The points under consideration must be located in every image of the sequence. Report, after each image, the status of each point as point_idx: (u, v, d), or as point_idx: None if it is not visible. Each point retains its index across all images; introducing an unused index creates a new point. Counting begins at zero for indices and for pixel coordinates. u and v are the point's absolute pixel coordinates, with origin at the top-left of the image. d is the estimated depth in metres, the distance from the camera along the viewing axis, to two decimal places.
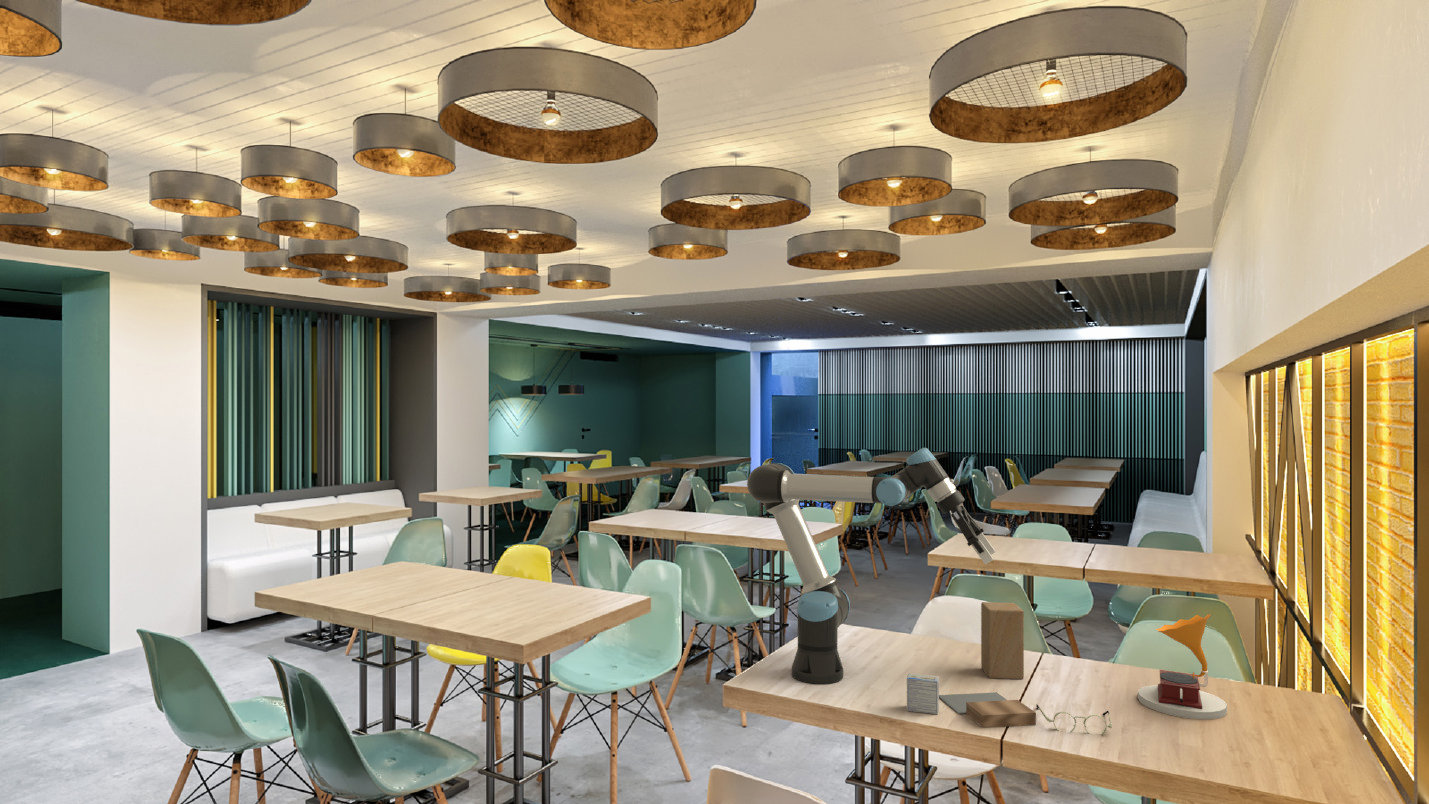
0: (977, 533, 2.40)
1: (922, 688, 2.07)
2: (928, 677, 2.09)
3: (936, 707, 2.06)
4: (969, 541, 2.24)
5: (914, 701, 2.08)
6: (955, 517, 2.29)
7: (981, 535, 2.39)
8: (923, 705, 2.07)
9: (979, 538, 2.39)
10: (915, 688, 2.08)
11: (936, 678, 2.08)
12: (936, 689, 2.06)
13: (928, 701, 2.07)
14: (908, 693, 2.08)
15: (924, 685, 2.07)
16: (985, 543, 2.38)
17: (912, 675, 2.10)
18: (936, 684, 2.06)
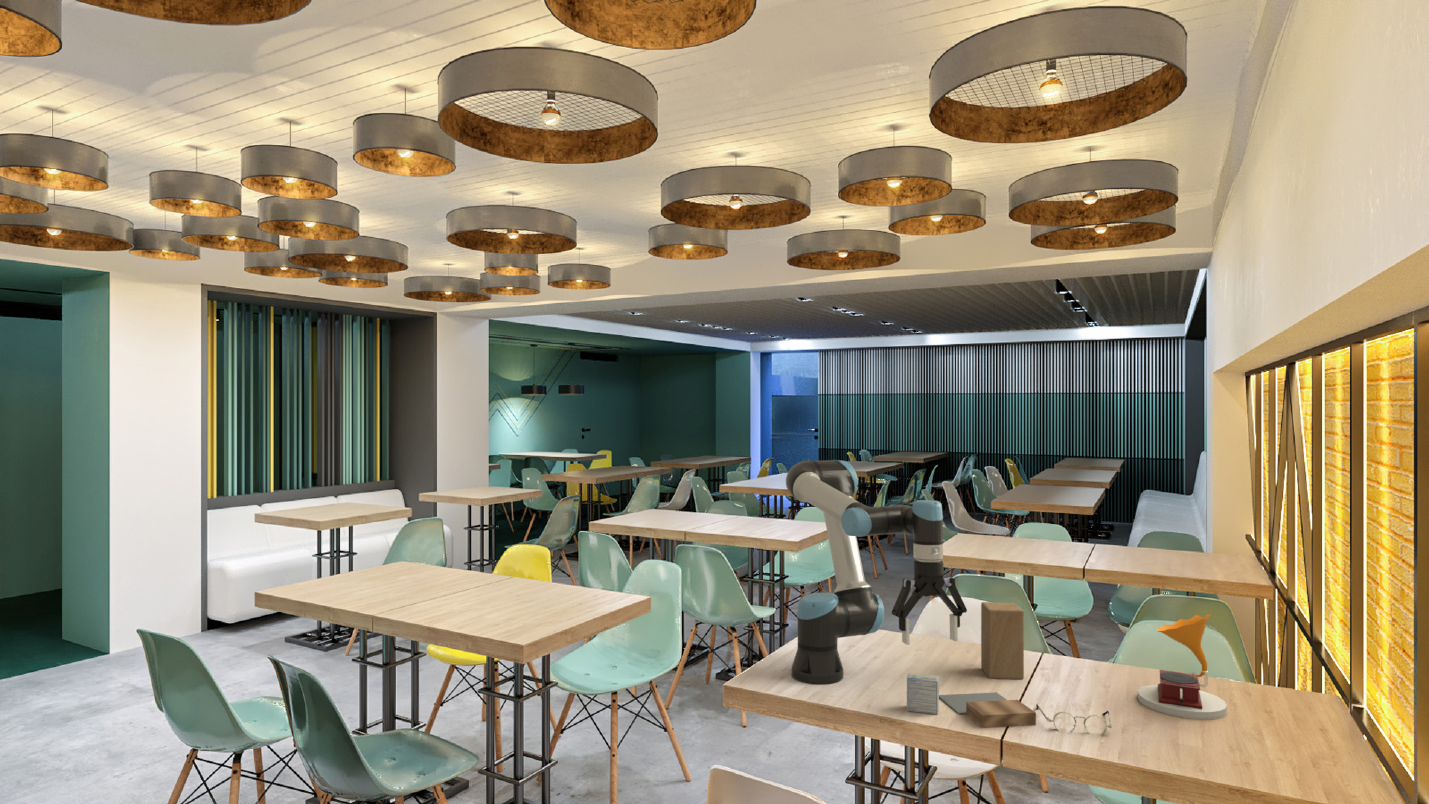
0: (954, 612, 2.12)
1: (922, 688, 2.07)
2: (928, 677, 2.09)
3: (936, 707, 2.06)
4: (892, 612, 2.09)
5: (914, 701, 2.08)
6: (903, 584, 2.10)
7: (953, 617, 2.11)
8: (923, 705, 2.07)
9: (951, 618, 2.12)
10: (915, 688, 2.08)
11: (936, 678, 2.08)
12: (936, 689, 2.06)
13: (928, 701, 2.07)
14: (908, 693, 2.08)
15: (924, 685, 2.07)
16: (952, 626, 2.11)
17: (912, 675, 2.10)
18: (936, 684, 2.06)
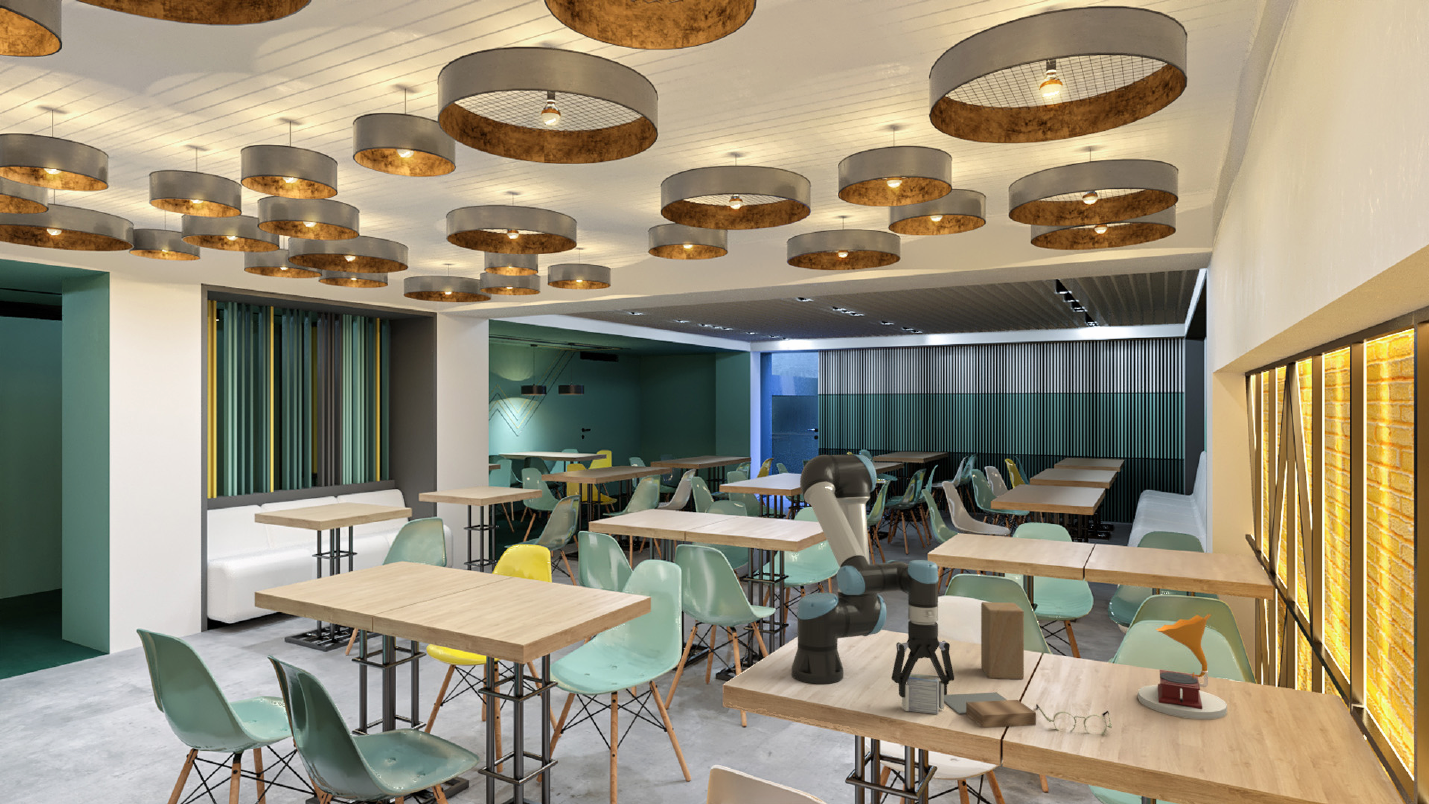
0: (941, 680, 2.10)
1: (922, 688, 2.07)
2: (928, 677, 2.09)
3: (936, 707, 2.06)
4: (892, 678, 2.09)
5: (914, 701, 2.08)
6: (897, 648, 2.09)
7: (940, 685, 2.09)
8: (923, 705, 2.07)
9: None
10: (915, 688, 2.08)
11: (936, 678, 2.08)
12: (936, 689, 2.06)
13: (928, 701, 2.07)
14: None
15: (924, 685, 2.07)
16: (939, 694, 2.09)
17: (912, 675, 2.10)
18: (936, 684, 2.06)
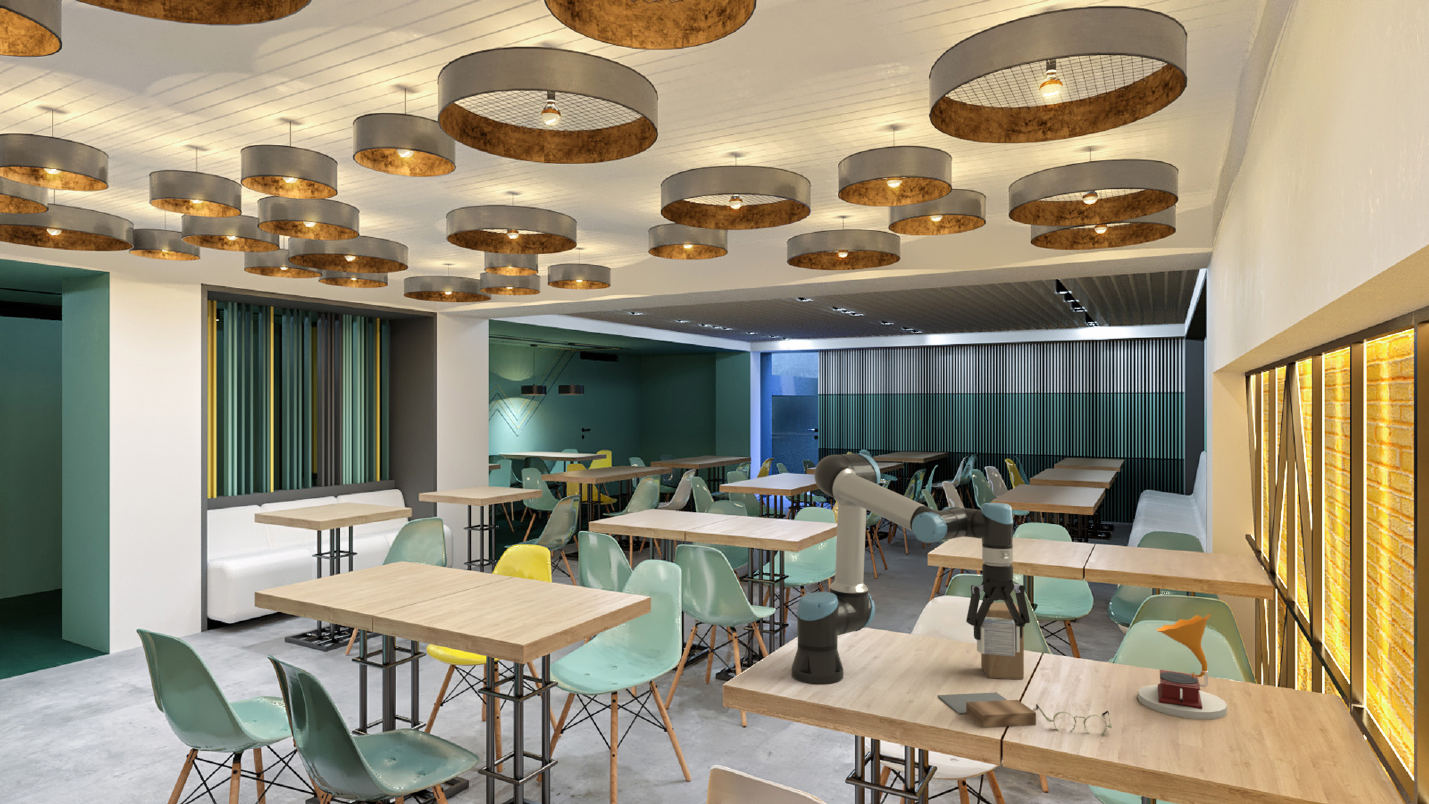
0: (1016, 623, 2.08)
1: (998, 630, 2.05)
2: (1003, 620, 2.07)
3: (1013, 649, 2.04)
4: (967, 621, 2.07)
5: (990, 643, 2.06)
6: (972, 591, 2.07)
7: (1015, 628, 2.07)
8: (999, 647, 2.05)
9: None
10: (991, 630, 2.06)
11: (1012, 620, 2.06)
12: (1013, 631, 2.04)
13: (1005, 643, 2.05)
14: None
15: (1000, 627, 2.05)
16: (1015, 637, 2.07)
17: (986, 618, 2.08)
18: (1012, 626, 2.04)
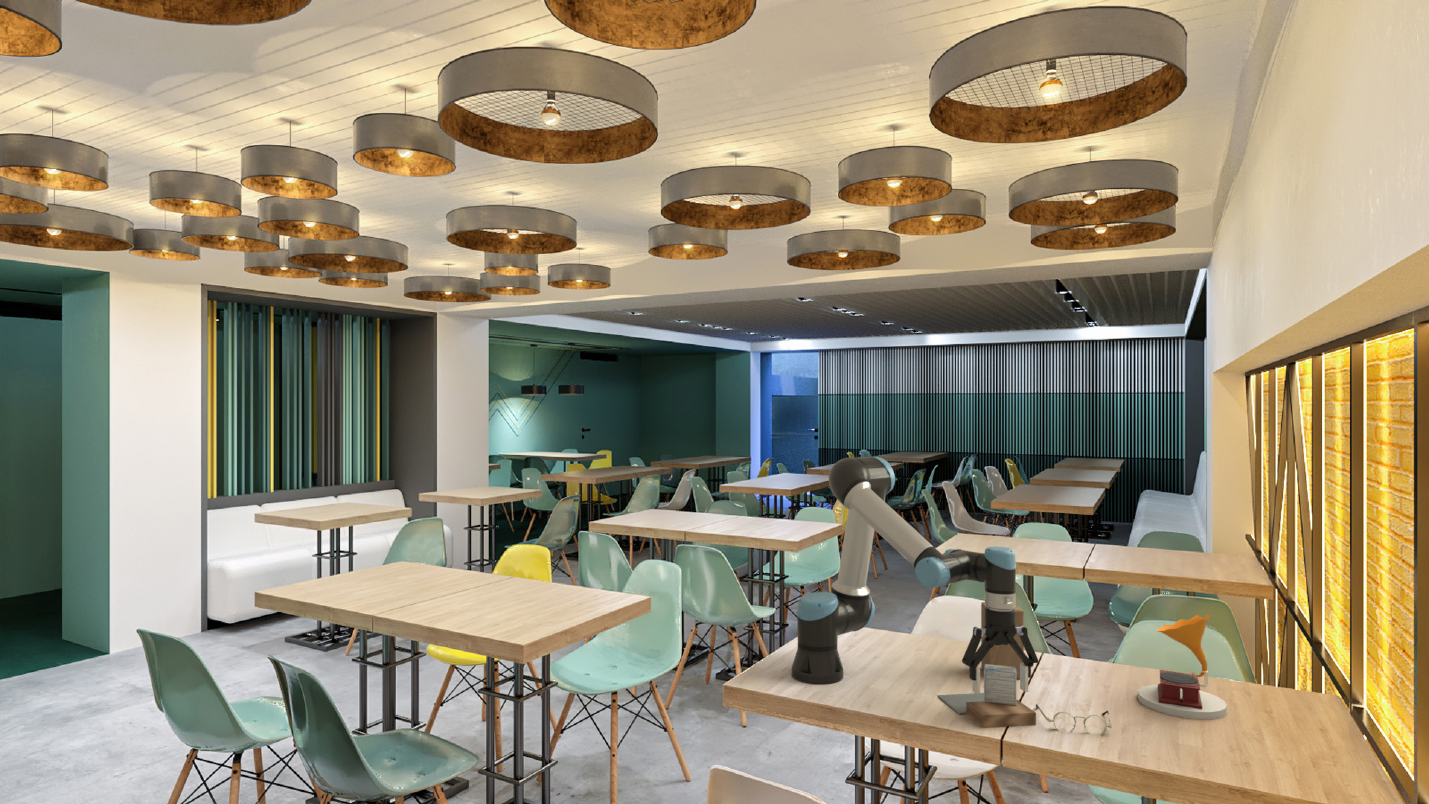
0: (1025, 662, 2.08)
1: (1000, 679, 2.05)
2: (1005, 668, 2.07)
3: (1014, 698, 2.04)
4: (962, 661, 2.07)
5: (991, 692, 2.06)
6: (974, 632, 2.07)
7: (1024, 667, 2.08)
8: (1001, 696, 2.05)
9: (1022, 668, 2.09)
10: (993, 679, 2.06)
11: (1014, 669, 2.06)
12: (1014, 680, 2.04)
13: (1006, 692, 2.05)
14: (985, 684, 2.07)
15: (1002, 676, 2.05)
16: (1023, 677, 2.08)
17: (988, 666, 2.08)
18: (1014, 675, 2.04)
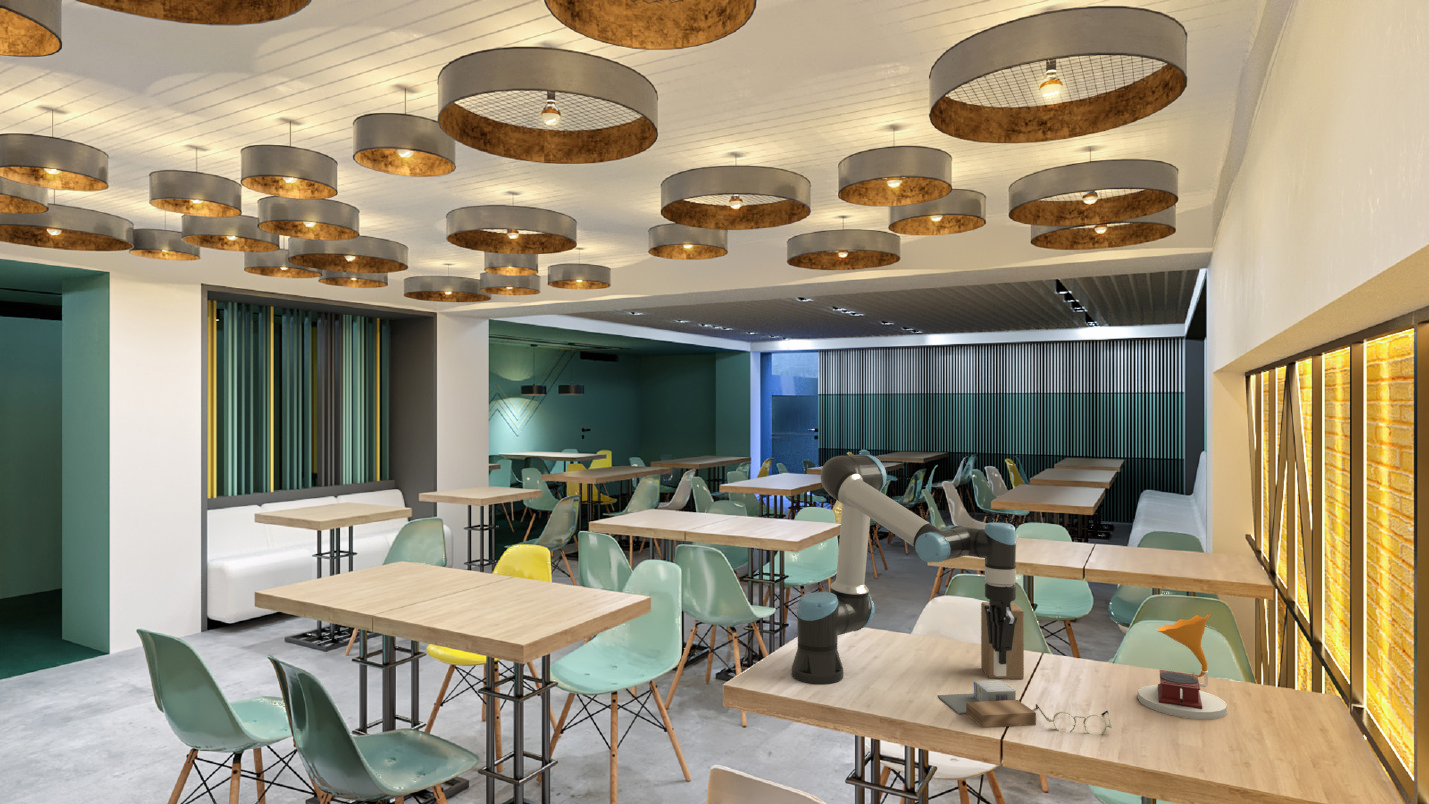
0: None
1: (991, 682, 2.16)
2: None
3: (1011, 688, 2.12)
4: (1004, 649, 2.04)
5: (989, 687, 2.13)
6: (1009, 622, 2.02)
7: None
8: (999, 688, 2.12)
9: None
10: (985, 683, 2.16)
11: None
12: (1003, 682, 2.17)
13: (1002, 686, 2.13)
14: (981, 685, 2.14)
15: (991, 681, 2.17)
16: None
17: None
18: (1001, 680, 2.18)
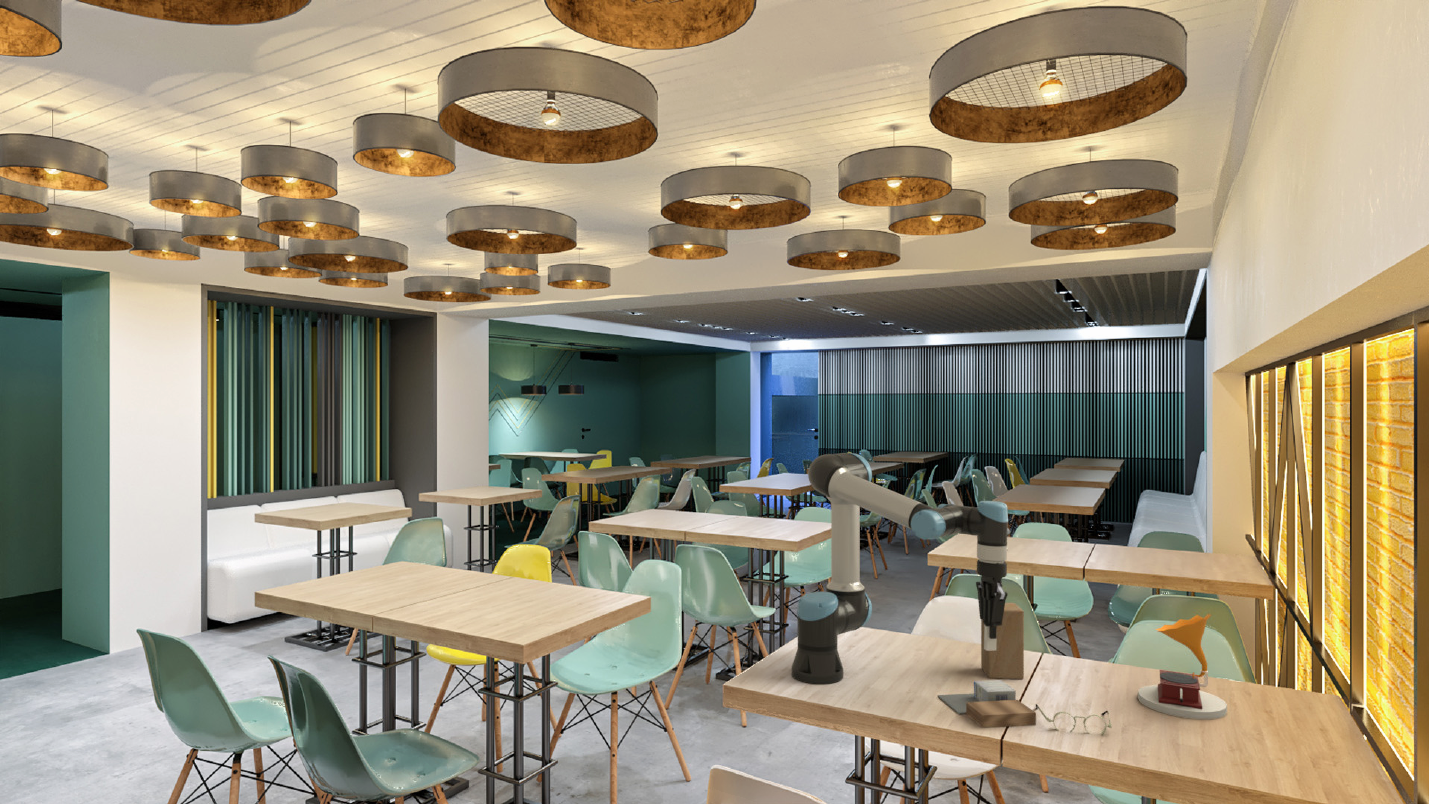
0: None
1: (991, 682, 2.16)
2: None
3: (1011, 688, 2.12)
4: (994, 623, 2.09)
5: (989, 687, 2.13)
6: (1000, 597, 2.06)
7: None
8: (999, 688, 2.12)
9: None
10: (985, 683, 2.16)
11: None
12: (1003, 682, 2.17)
13: (1002, 686, 2.13)
14: (981, 685, 2.14)
15: (991, 681, 2.17)
16: None
17: None
18: (1001, 680, 2.18)
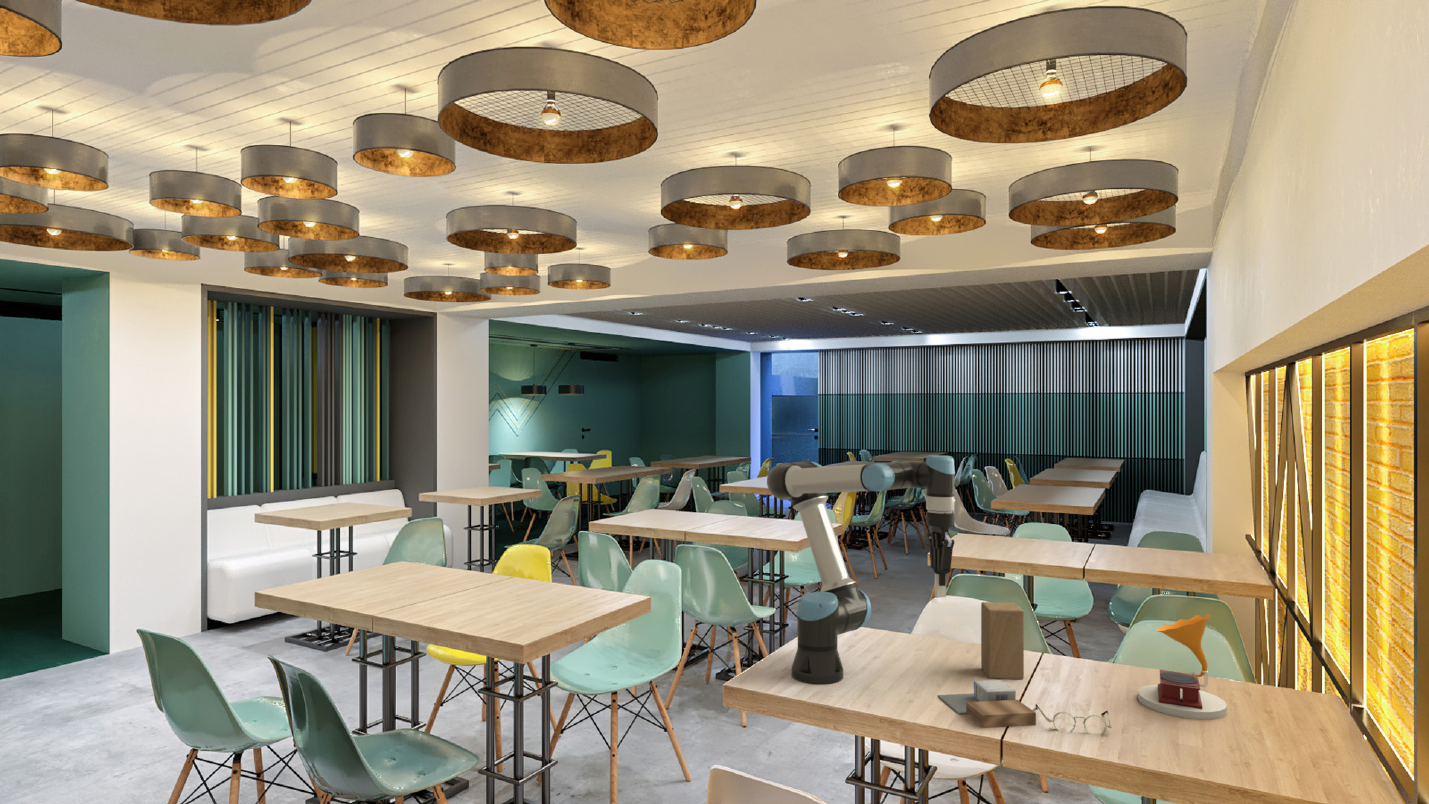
0: None
1: (991, 682, 2.16)
2: None
3: (1011, 688, 2.12)
4: (943, 571, 2.19)
5: (989, 687, 2.13)
6: (947, 545, 2.17)
7: None
8: (999, 688, 2.12)
9: None
10: (985, 683, 2.16)
11: None
12: (1003, 682, 2.17)
13: (1002, 686, 2.13)
14: (981, 685, 2.14)
15: (991, 681, 2.17)
16: None
17: None
18: (1001, 680, 2.18)
